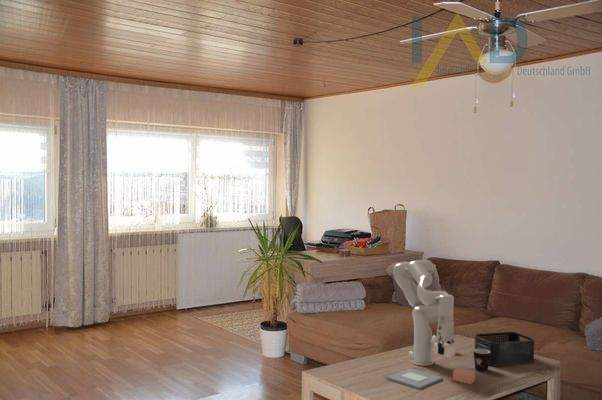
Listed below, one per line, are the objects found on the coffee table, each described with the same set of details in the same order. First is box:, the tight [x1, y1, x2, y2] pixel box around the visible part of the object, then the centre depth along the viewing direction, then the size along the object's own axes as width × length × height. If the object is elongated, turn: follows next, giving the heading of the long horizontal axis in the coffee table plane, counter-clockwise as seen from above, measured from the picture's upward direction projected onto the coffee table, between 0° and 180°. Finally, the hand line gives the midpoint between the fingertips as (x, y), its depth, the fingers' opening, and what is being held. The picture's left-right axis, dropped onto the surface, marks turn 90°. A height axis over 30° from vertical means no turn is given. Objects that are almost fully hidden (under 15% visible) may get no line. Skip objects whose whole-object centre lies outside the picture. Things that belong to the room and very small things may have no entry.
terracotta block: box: [452, 367, 476, 385], centre depth 289 cm, size 9×6×5 cm, turn 50°
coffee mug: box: [473, 348, 496, 373], centre depth 304 cm, size 12×9×10 cm
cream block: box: [433, 342, 456, 358], centre depth 297 cm, size 9×6×5 cm, turn 47°
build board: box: [385, 367, 444, 390], centre depth 290 cm, size 20×20×1 cm
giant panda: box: [432, 334, 455, 345], centre depth 339 cm, size 15×6×10 cm, turn 66°
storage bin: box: [474, 331, 535, 367], centre depth 323 cm, size 29×19×13 cm
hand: (444, 352), depth 297 cm, fingers closed on cream block, 6 cm apart
